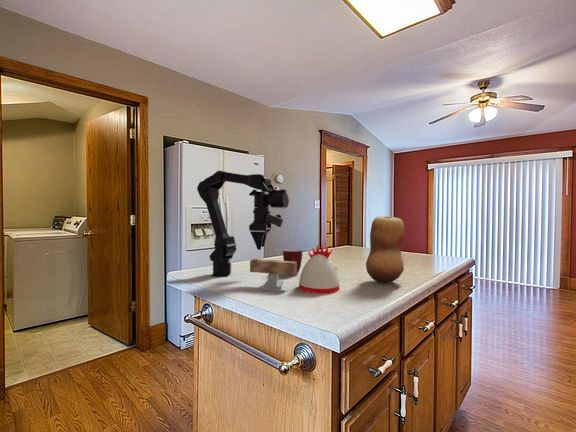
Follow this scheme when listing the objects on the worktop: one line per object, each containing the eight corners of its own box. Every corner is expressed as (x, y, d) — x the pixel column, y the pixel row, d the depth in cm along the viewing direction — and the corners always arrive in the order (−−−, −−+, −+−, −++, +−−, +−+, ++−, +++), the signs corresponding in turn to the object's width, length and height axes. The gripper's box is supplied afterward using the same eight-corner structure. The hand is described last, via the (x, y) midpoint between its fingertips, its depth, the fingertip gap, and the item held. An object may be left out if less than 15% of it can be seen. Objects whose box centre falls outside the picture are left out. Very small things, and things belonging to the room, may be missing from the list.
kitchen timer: (338, 295, 99) (339, 248, 98) (296, 292, 101) (296, 246, 101) (339, 284, 112) (340, 243, 112) (302, 282, 115) (303, 242, 115)
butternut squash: (396, 289, 107) (397, 216, 106) (360, 283, 115) (361, 216, 114) (408, 281, 118) (409, 216, 117) (374, 276, 126) (375, 215, 125)
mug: (304, 277, 124) (304, 252, 123) (284, 277, 123) (284, 252, 122) (300, 271, 134) (300, 249, 134) (281, 272, 133) (282, 249, 133)
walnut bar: (250, 271, 108) (250, 260, 108) (253, 270, 112) (254, 259, 111) (294, 275, 104) (294, 263, 104) (296, 273, 107) (296, 261, 107)
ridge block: (262, 291, 102) (262, 276, 102) (266, 282, 114) (266, 269, 114) (280, 291, 102) (280, 276, 101) (282, 282, 114) (283, 269, 113)
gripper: (280, 207, 109) (279, 251, 109) (284, 208, 127) (283, 245, 128) (249, 207, 109) (248, 251, 110) (257, 207, 128) (256, 245, 128)
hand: (261, 248), depth 119 cm, fingers open, 9 cm apart
